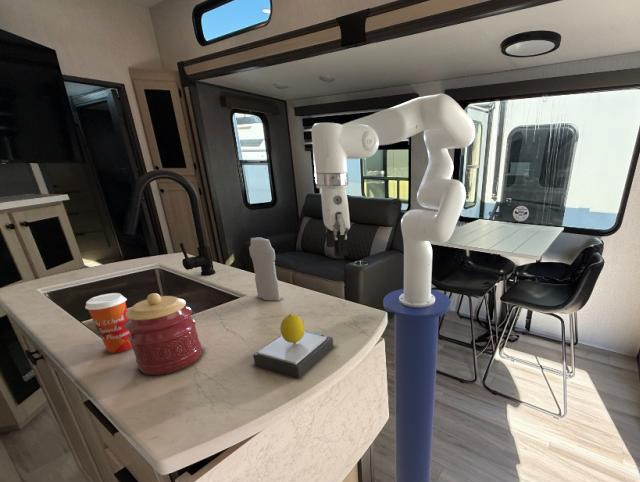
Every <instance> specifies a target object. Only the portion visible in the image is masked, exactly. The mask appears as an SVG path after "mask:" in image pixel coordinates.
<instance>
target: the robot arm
mask: <svg viewBox="0 0 640 482" xmlns="http://www.w3.org/2000/svg"><path fill="white" fill-rule="evenodd" d="M421 132H423V140H424V144H425V147H426V152H427V157H428V163H427V166H426V168H425V172H424V175H423V177H422V180H421V182H420V185H419V187H418V190H417V194H416V201H417V204H418V205H419V206H421V207H423V208H425V209H421V208H415V209H414V208H413V209H409V210H407V211H406V212H405V213H404V214H403V216H402V218H401V220H400V230H401V235H402V241H403V289H404V293H403V294H401V295H400V297H399V301H400V302H401V303H402V304H403V305H405V306H408V307H415V308H421V307H427V306H430V305H432V304H433V303H434V302H435V297H434V296H433V295H432V294H431V290H432V273H433V248H432V245H431V243H432V244H439V245H442V244H445V243H447V242H448V241H449V240H450V239H451V237H452V235H453V234H454V231H455V229H456V226H457V223H458V221H459V219H460V216H461V213H462V211H463V208H464V205H465V201H466V188H465V186H464V184H463V182H461V181H460V180H458V179H454V178H452V175H453V172H454V163H453V159H452V157H451V155H450V153H449V149H465V148H468V147H470V146H471V145H472V144H473V142H474V140H475V138H476V125H475V123H474V121H473V119H472V118H471V116H470V115H469V114H468V113H467V112H466V111H465V110H464V109H463V107H462V106H461V105H460V104H459V103H458V102H457V101H456V100H455V99H453V98H452V97H451V96H450V95H448V94H445V93H437V94H430V95H424V96H420V97H416V98H413V99H410V100H408V101H405V102H403V103H399V104H397V105H395V106H392V107H389V108H386V109H383V110H380V111H377V112H374V113H372V114H370V115H366V116H363V117H359V118H357V119H354V120H351V121H349V122H345V123H342V124H341V123H335V122H316V123H314V124H313V125H312V127H311V143H312V154H313V165H314V177H315V188H316V189H320V196H321V197H320V199H321V211H322V220H323V224H324V226H325V241H326V243H325V244H326V247H327V248H333V252H334V253H333V255H334V257H345V256H348V255H349V249H348V235H347V231H349V230H350V229H351V221H350V220H351V219H350V211H349V201H348V194H347V188H349V177H348V174H349V173H348V159H349V160H353V159H354V160H364V159H368V158H370V157H372V156H374V155H375V154H376V152H377V151H378V149H379V146H386V145H393V144H396V143H400V142H403V141H405V140H406V139H409V138H411V137H413V136H415V135H417V134H419V133H421ZM428 209H430V210H428ZM434 210H435V211H434ZM436 210H437V211H436ZM346 230H347V231H346Z"/></svg>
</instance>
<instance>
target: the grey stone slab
mask: <svg viewBox="0 0 640 482" xmlns="http://www.w3.org/2000/svg"><path fill="white" fill-rule="evenodd" d="M248 249H249V256H250V258H251V260H252V266H253V270H254V281H255V288H256V295H257V298H259V299H262V300H264V301H281V293H280V286H279V280H278V277H277V272H276V271H277V270H276V265H275V264H276V262H275V261H276V253H275V249H274V248H273V247H272V245H271V242H270V239H266V238H263V237H251V238H250V246H249V247H248Z"/></svg>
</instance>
